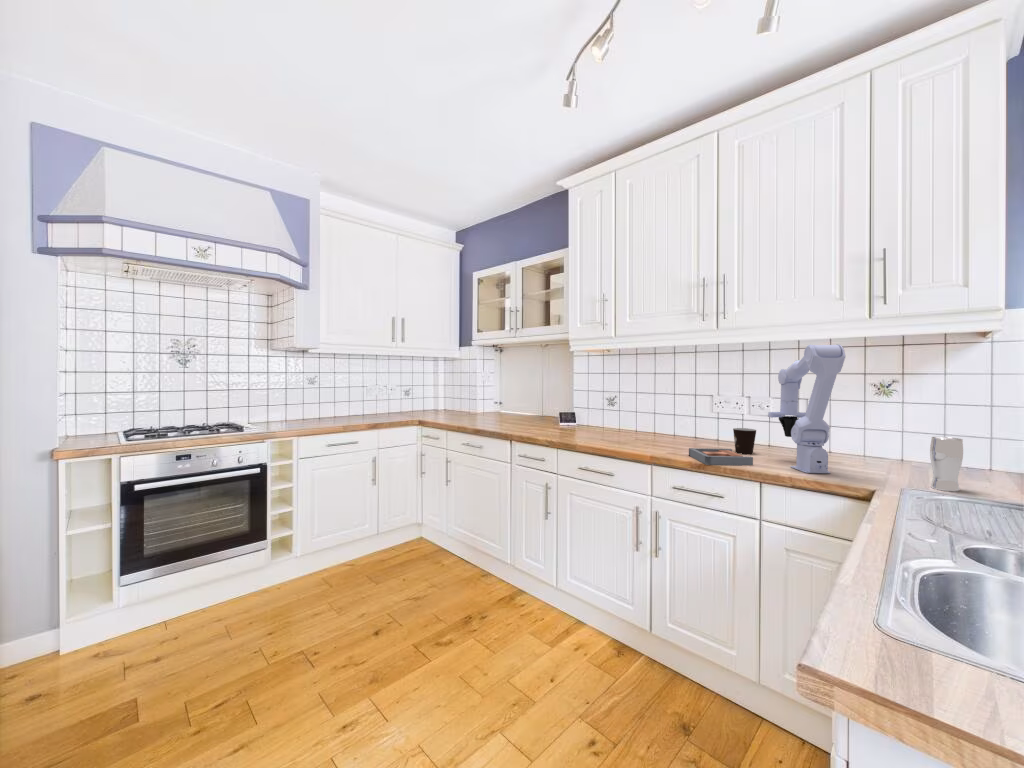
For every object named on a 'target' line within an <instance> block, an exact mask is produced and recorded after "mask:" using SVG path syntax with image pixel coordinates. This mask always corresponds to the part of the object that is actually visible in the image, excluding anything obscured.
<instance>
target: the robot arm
mask: <svg viewBox="0 0 1024 768" xmlns="http://www.w3.org/2000/svg"><path fill="white" fill-rule="evenodd" d="M845 359H846V351H845V349H844V347H843V346H842V345H841V344H811V343H810V344H807V346H806V347H805V348H804V351H803V356H802V358H801V359H799V360H797V359H795V361H794V362H793V363H792V364H791V365H790V366H788V368H786V369H785V368H780V370H779V371H778V376H777V377H778V378H777V379H778V383H779V384H780V407H779V409H780V410H779V411H768V413H767V417H768V418H778V421H779V422H780V424H781V427H782V429H783V433H784V436H785V437H787V438H791V439H792V441H793V442H794V444H796V465H790V468H792V469H794V470H798V471H800V472H803V473H805V474H831V471H829V454H828V451H827V450H826V449H825V448H823V447H824V446H825V444H826V443H827V442H828V441H829V438H830V434H829V433H830V428H831V427H830V426H829V423H827V421H825V419H824V417H825V414H826V410H827V407H828V404H829V401H830V398H831V395H832V391H833V388H834V385H835V381H836V379H837V375H838V374H839V373H841V372H842V370H843V367H844V363H845ZM809 372H810V373H812V374H813V375H816V376H815V380H814V383H813V386H812V391H811V393H810V394H811V395H810V397H809V401H808V404H807V408H806V412H802V411H801V412H799V390H800V389H801V384H802V381H803V377H805V376H806V375H807V374H809Z"/></svg>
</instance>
